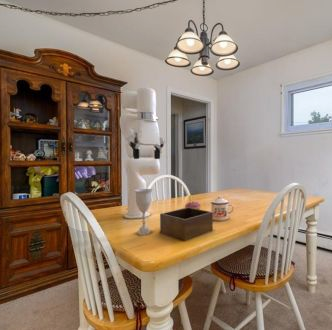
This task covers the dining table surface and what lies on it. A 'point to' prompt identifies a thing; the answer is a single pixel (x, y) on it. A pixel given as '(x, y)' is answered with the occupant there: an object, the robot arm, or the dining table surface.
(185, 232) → the crate
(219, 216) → the teacup with lid
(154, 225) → the dining table surface
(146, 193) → the chalice
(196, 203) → the red onion
